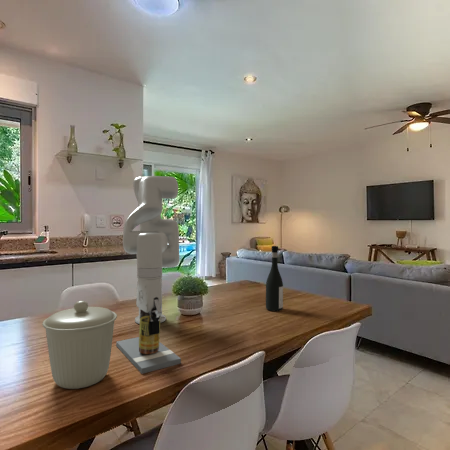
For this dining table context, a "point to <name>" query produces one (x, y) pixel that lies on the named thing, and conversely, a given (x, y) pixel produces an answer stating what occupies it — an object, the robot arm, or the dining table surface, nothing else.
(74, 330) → the canister
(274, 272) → the wine bottle
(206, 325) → the dining table surface
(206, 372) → the dining table surface
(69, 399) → the dining table surface
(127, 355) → the board
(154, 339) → the sauce bottle
